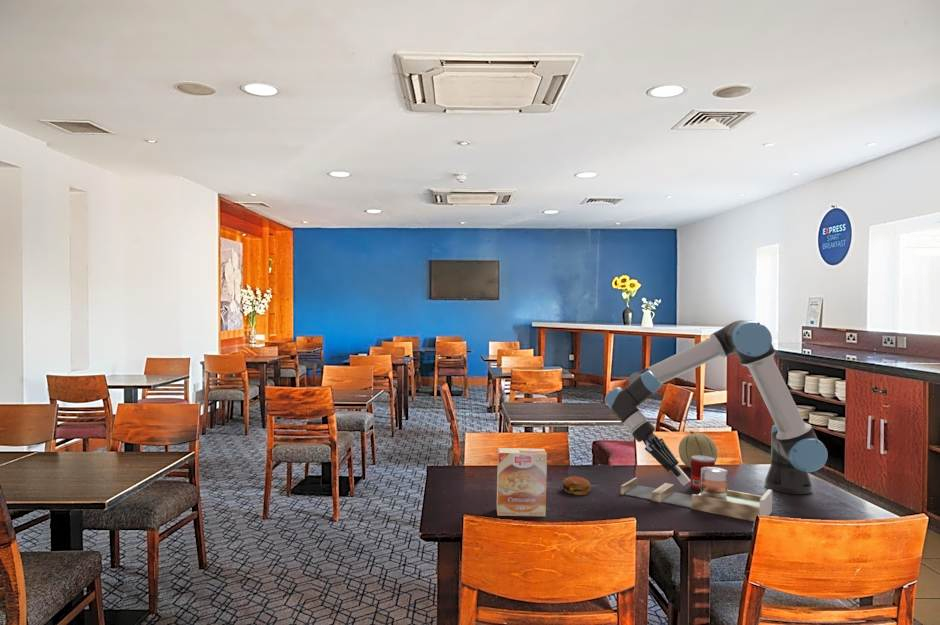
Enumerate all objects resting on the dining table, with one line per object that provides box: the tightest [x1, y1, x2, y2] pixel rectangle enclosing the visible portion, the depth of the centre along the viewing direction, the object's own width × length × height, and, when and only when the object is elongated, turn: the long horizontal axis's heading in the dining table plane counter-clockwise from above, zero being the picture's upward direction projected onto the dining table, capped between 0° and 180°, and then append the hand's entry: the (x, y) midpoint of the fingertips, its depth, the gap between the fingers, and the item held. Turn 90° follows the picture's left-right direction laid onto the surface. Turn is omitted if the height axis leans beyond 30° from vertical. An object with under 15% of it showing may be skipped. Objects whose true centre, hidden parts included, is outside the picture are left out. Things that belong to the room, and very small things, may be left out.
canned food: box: [690, 455, 716, 492], centre depth 222 cm, size 8×8×11 cm
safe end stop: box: [727, 488, 773, 516], centre depth 195 cm, size 12×13×7 cm
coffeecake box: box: [496, 447, 548, 517], centre depth 192 cm, size 15×7×20 cm, turn 90°
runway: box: [620, 477, 763, 522], centre depth 205 cm, size 44×13×4 cm, turn 54°
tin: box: [700, 466, 729, 500], centre depth 201 cm, size 8×8×9 cm
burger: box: [562, 476, 592, 496], centre depth 216 cm, size 10×9×5 cm
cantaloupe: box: [678, 430, 719, 469], centre depth 248 cm, size 15×15×15 cm
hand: (687, 483), depth 206 cm, fingers closed
